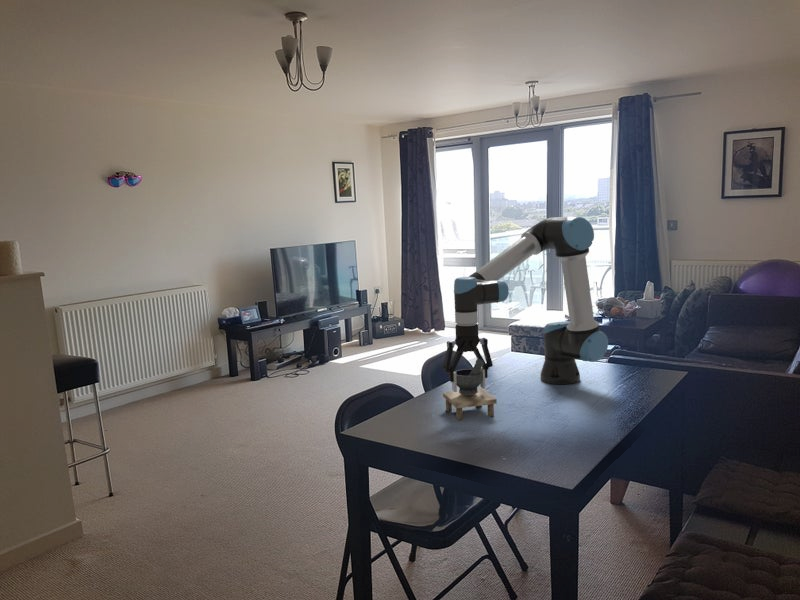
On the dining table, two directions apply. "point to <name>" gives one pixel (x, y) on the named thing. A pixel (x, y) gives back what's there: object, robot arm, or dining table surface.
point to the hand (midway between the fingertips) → (468, 389)
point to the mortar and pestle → (469, 379)
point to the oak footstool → (469, 401)
